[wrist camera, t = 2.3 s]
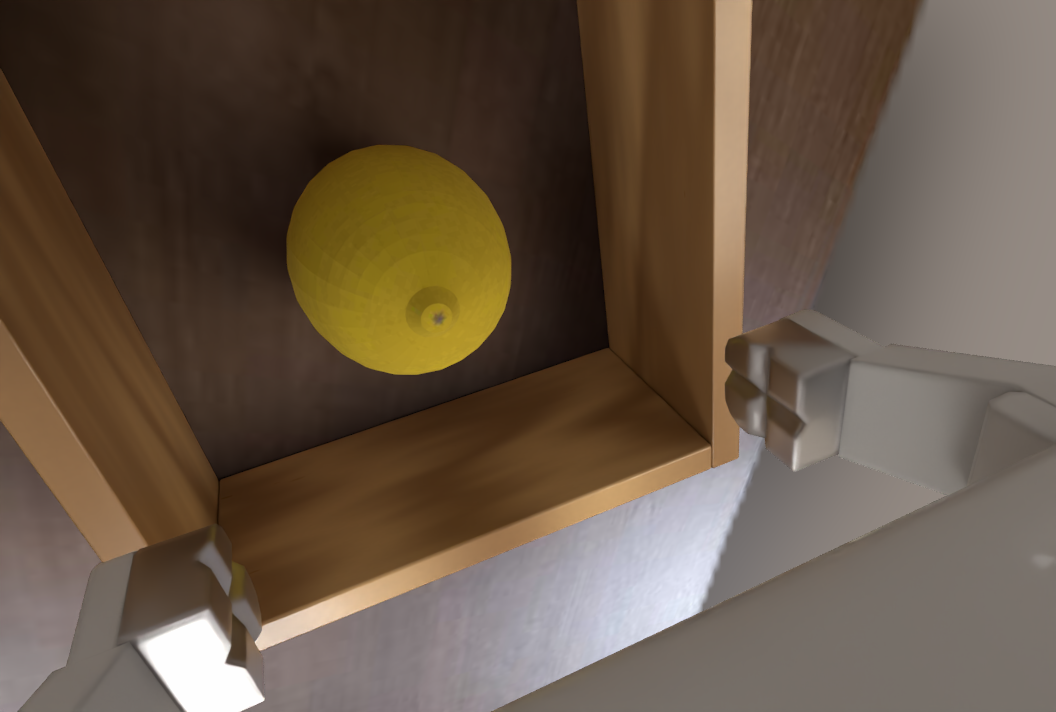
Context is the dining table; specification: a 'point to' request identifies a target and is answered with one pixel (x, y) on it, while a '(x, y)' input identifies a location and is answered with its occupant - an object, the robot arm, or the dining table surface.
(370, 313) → the lemon
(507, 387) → the crate
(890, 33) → the dining table surface
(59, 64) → the dining table surface
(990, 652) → the robot arm
